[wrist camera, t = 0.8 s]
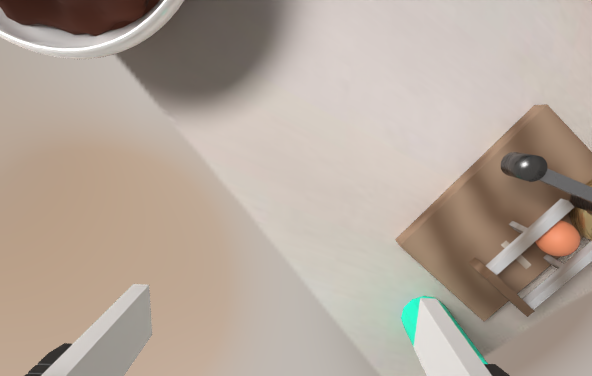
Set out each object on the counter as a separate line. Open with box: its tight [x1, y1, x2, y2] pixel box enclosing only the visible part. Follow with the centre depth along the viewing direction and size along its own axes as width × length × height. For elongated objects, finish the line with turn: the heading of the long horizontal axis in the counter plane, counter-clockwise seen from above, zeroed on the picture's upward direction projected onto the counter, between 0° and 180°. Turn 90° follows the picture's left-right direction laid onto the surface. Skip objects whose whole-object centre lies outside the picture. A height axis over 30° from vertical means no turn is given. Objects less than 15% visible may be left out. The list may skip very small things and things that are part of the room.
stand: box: [396, 105, 592, 321], centre depth 37 cm, size 22×15×6 cm
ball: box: [535, 220, 580, 256], centre depth 36 cm, size 4×4×4 cm
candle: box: [401, 296, 488, 364], centre depth 38 cm, size 6×6×12 cm
